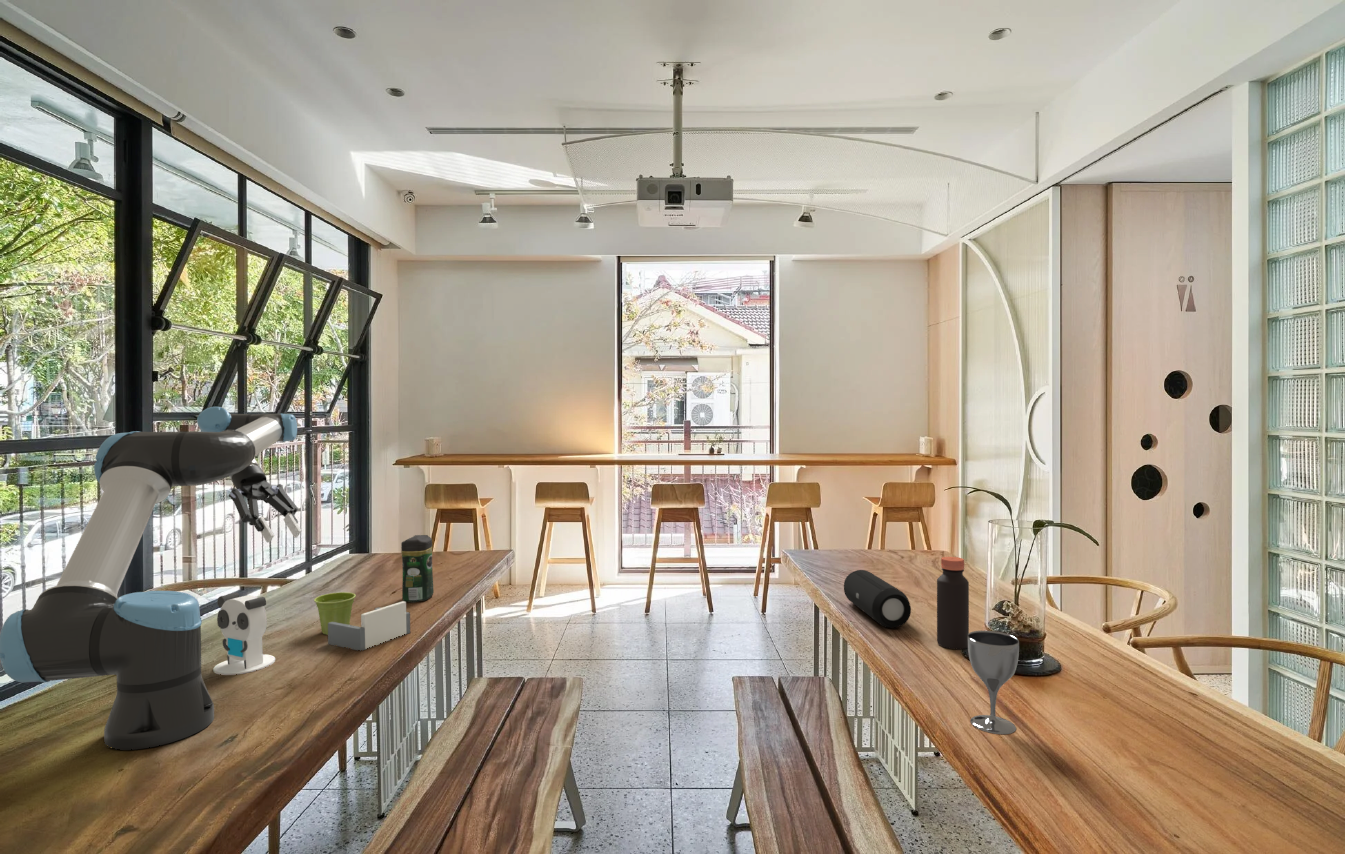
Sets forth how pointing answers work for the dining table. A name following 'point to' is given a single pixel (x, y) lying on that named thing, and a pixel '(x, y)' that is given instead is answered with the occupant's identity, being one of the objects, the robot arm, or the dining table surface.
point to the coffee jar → (417, 568)
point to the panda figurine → (242, 634)
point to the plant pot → (334, 608)
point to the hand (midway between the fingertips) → (284, 536)
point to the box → (371, 628)
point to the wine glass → (993, 672)
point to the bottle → (952, 605)
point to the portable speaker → (877, 598)
